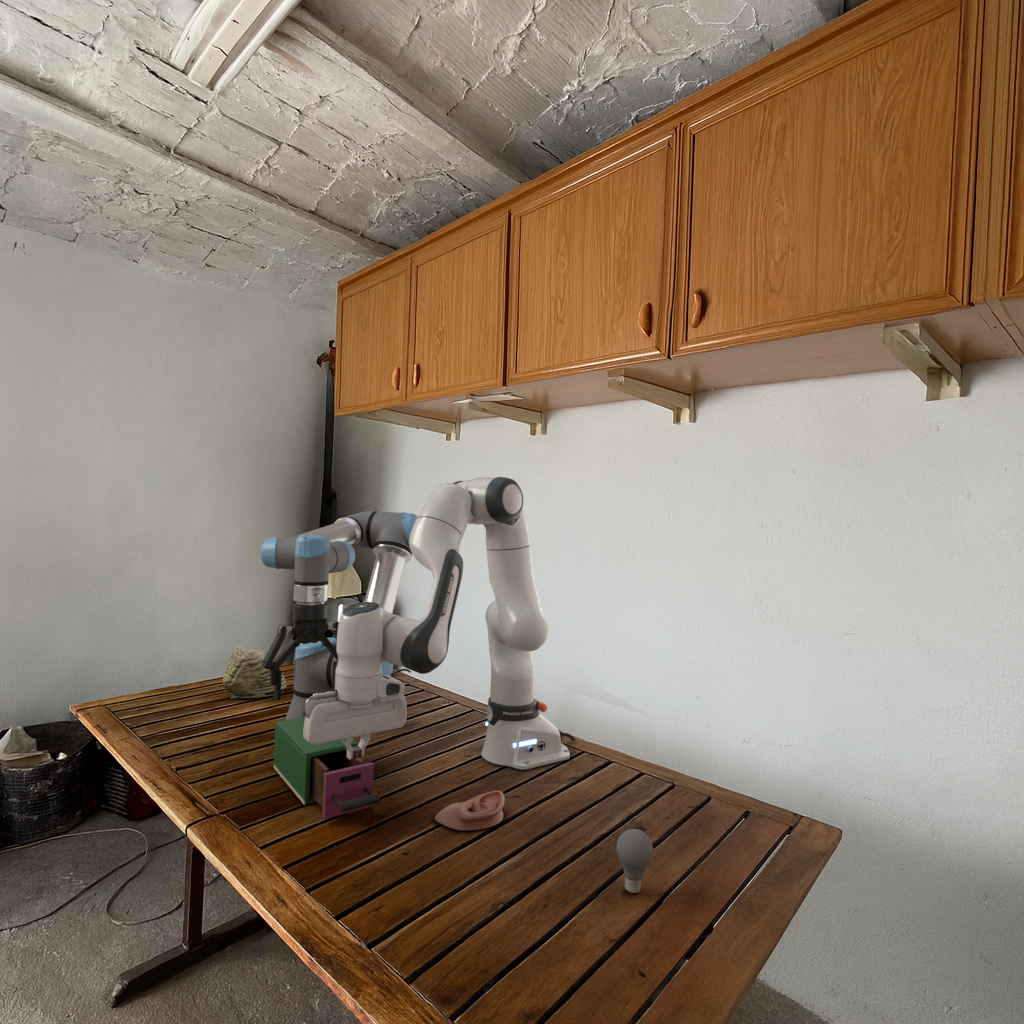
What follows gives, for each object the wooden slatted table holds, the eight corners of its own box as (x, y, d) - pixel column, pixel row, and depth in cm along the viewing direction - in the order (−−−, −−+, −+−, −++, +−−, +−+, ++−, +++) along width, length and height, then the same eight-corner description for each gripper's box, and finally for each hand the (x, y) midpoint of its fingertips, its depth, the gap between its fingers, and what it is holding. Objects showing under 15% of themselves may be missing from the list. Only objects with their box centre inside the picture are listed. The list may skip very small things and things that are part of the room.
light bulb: (610, 879, 108) (613, 822, 108) (644, 879, 109) (647, 822, 109) (619, 902, 102) (622, 840, 102) (655, 901, 103) (658, 840, 103)
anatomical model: (430, 806, 123) (447, 781, 135) (429, 826, 123) (447, 799, 135) (496, 815, 121) (508, 789, 132) (495, 836, 121) (508, 808, 132)
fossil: (218, 695, 195) (220, 647, 195) (278, 685, 208) (279, 640, 207) (228, 703, 189) (230, 653, 188) (289, 692, 201) (290, 645, 201)
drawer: (384, 818, 124) (386, 774, 124) (335, 832, 118) (337, 786, 118) (335, 770, 144) (336, 732, 144) (291, 780, 138) (292, 741, 138)
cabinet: (356, 791, 137) (358, 742, 136) (304, 805, 130) (306, 753, 130) (320, 757, 154) (322, 713, 153) (273, 767, 147) (275, 721, 147)
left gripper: (258, 608, 135) (255, 707, 136) (368, 601, 150) (364, 690, 151) (249, 603, 141) (245, 697, 142) (355, 596, 156) (351, 682, 157)
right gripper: (311, 699, 115) (308, 775, 115) (411, 683, 127) (409, 752, 127) (299, 690, 120) (296, 762, 120) (397, 676, 132) (394, 741, 132)
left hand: (307, 694), depth 146 cm, fingers open, 13 cm apart
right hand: (355, 757), depth 124 cm, fingers closed
